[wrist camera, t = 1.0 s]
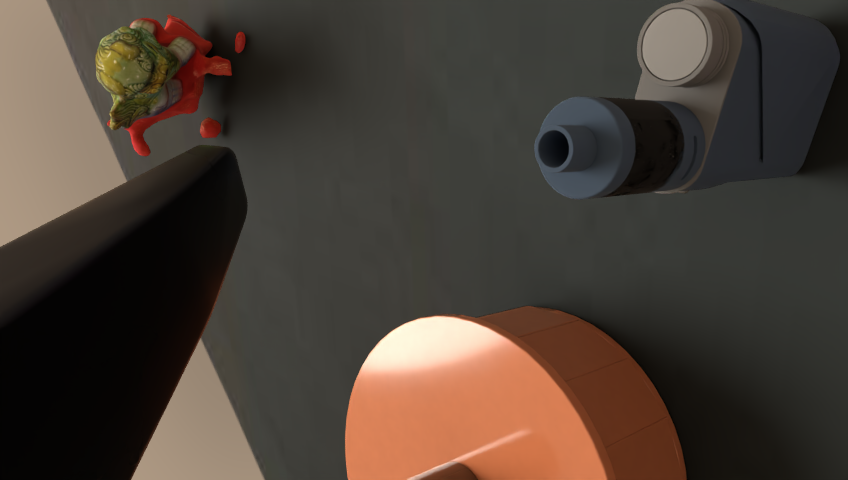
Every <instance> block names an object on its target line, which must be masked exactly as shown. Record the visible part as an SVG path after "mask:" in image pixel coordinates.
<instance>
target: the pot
mask: <svg viewBox="0 0 848 480" xmlns="http://www.w3.org/2000/svg"><path fill="white" fill-rule="evenodd" d="M475 318H478V319H481V320H484V321H486V322H489V323H492V324H494V325H497V326H499V327H501V328H502V329H504V330H506V331H508V332H510V333H511V334H513V335H515V336H517V337H518V338H519V339H521V340H522V341H524V342H525V343H526V344H528V345H529V346H530V347H532V348H533V349H534V350H536V351H537V352H538V353H539V354H540V355H541V356H542V357H543V358H544V359H545V360H546V361H547V362H548V363H549V364H550V365H551V366H552V367H554V369H555V370H556V371H557V372H558V373H559V374H560V376H561V377H562V378H563V379H564V380H565V382H566V383H567V384H568V385H569V386H570V387H571V389H572V390H573V392H574V393H575V395H576V396H577V398H578V399H579V401H580V402H581V403H582V405H583V406H584V408H585V409H586V411H587V413H588V414H589V416H590V418H591V420H592V422H593V424H594V425H595V427H596V429H597V431H598V433H599V435H600V437H601V439H602V441H603V444H604V446H605V449H606V451H607V453H608V456H609V458H610V460H611V463H612V466H613V469H614V473H615V476H616V479H617V480H687V477H686V468H685V463H684V458H683V453H682V448H681V445H680V442H679V439H678V435H677V432H676V429H675V426H674V424H673V421H672V419H671V417H670V415H669V412H668V410H667V408H666V406H665V404H664V402H663V400H662V398H661V397H660V395H659V393H658V392H657V390H656V388H655V386H654V385H653V383H652V382H651V381H650V379H649V378H648V376H647V375H646V374H645V372H644V371H643V370H642V368H641V367H640V366H639V365H638V363H637V362H636V361H635V360H634V359H633V358H632V357H631V356H630V355H629V354H628V353H627V351H626V350H625V349H623V348H622V347H621V346H620V345H619V344H618V343H617V342H615V341H614V340H613V339H612V338H611V337H610V336H608V335H607V334H605V333H604V332H602V331H601V330H600V329H598V328H597V327H595V326H594V325H592V324H590V323H588V322H586V321H584V320H582V319H580V318H578V317H576V316H573V315H571V314H568V313H565V312H562V311H559V310H554V309H549V308H543V307H532V306H523V307H519V308H514V309H510V310H505V311H501V312H497V313H492V314H488V315H483V316H479V317H475Z"/></svg>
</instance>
